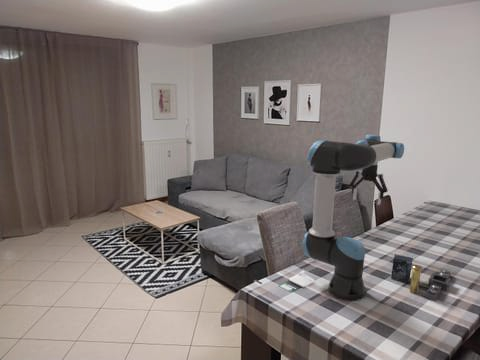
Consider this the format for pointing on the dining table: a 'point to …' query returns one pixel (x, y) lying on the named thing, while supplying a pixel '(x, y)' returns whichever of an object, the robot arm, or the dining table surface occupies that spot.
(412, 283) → the pin
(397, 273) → the box
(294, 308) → the dining table surface
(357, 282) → the robot arm
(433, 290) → the studded dark bracket
